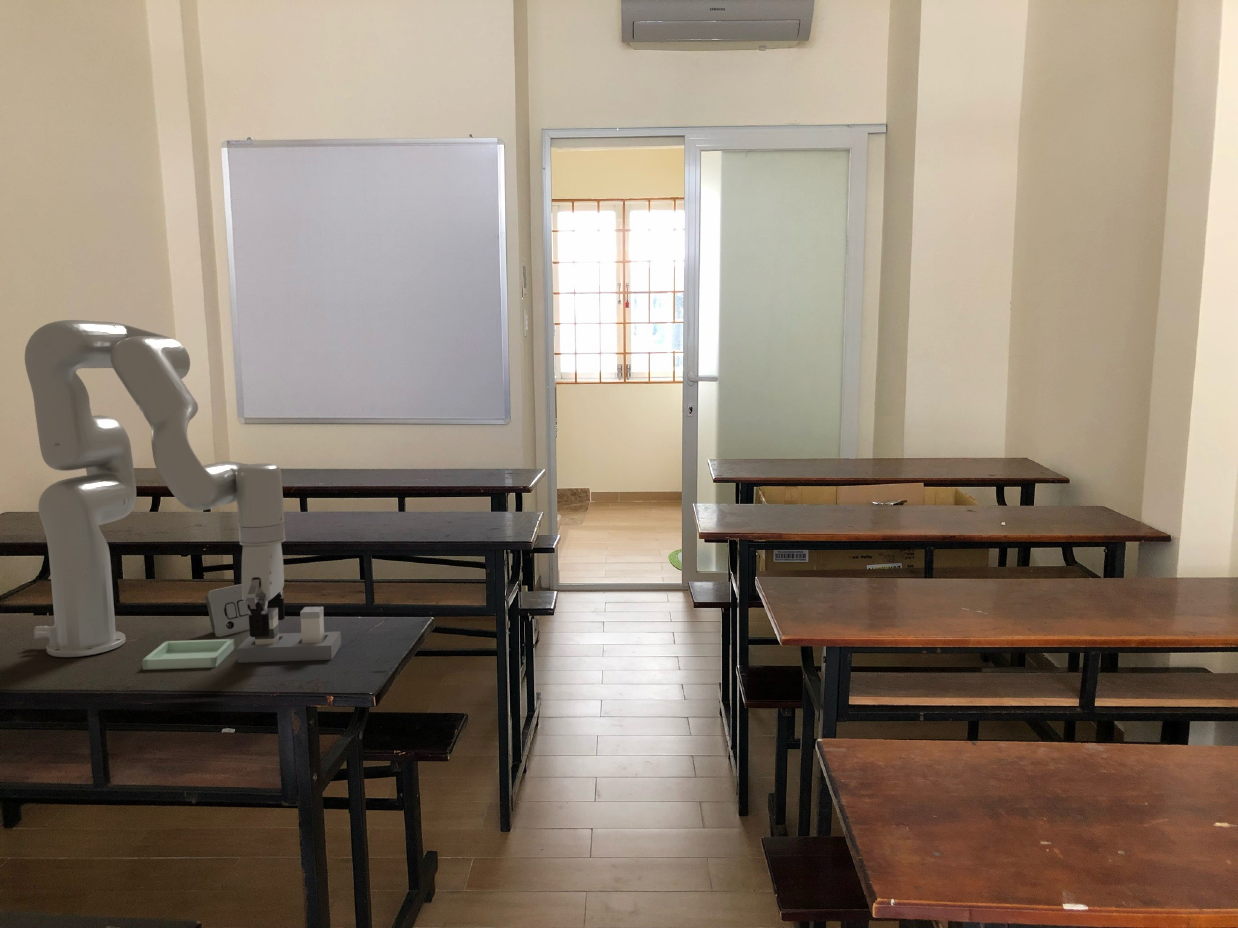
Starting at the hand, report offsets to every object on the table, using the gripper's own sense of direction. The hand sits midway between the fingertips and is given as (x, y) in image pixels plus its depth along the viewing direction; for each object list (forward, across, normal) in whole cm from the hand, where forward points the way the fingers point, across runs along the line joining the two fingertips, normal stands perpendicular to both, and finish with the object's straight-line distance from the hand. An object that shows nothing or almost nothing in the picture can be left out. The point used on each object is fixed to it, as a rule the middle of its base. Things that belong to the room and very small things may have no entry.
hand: (268, 627), depth 160 cm
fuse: (+5, 0, +8) cm, 9 cm away
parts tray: (+5, +1, -13) cm, 14 cm away
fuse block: (+5, 0, +4) cm, 7 cm away
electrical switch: (+5, -16, -11) cm, 20 cm away
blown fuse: (+5, 0, 0) cm, 5 cm away
